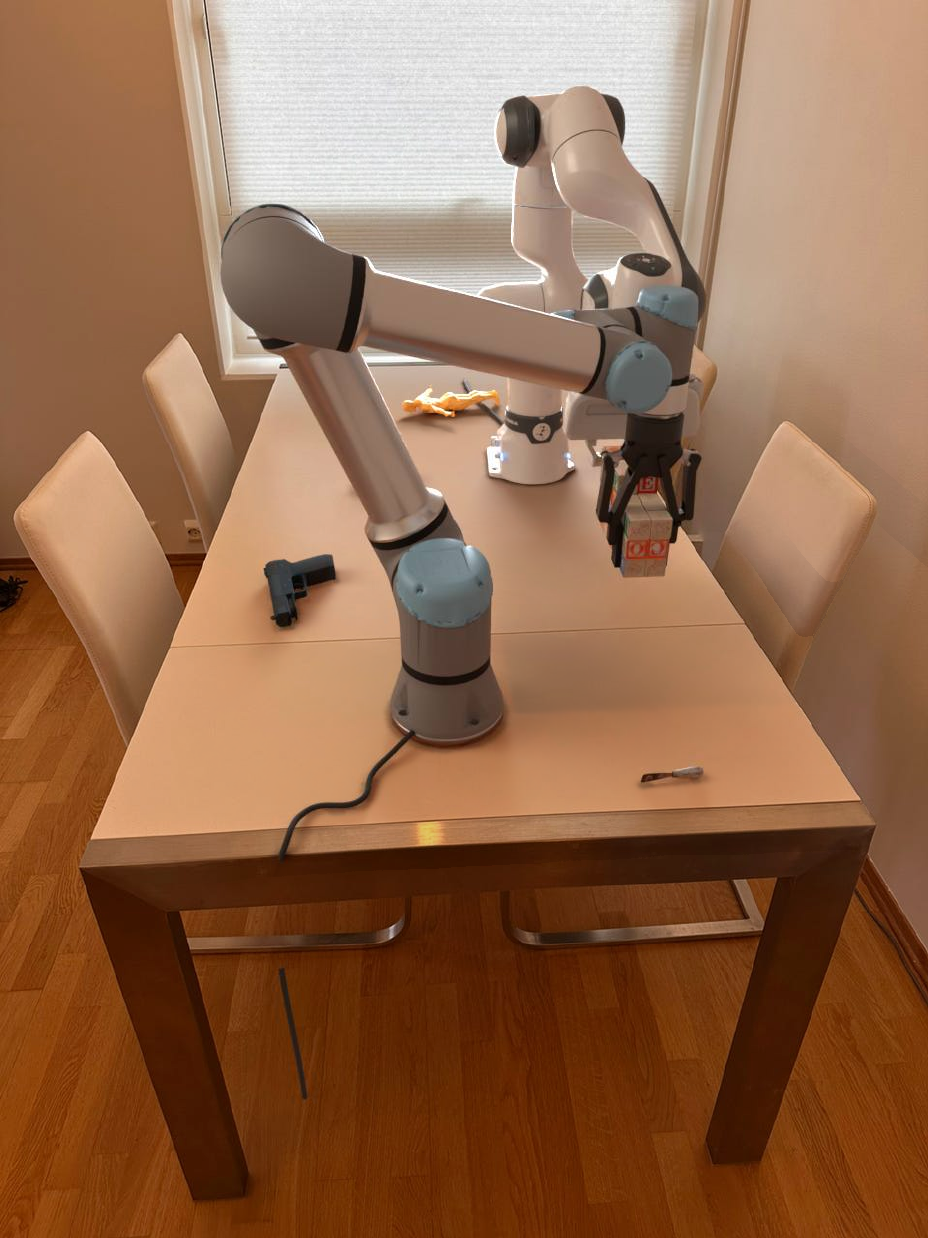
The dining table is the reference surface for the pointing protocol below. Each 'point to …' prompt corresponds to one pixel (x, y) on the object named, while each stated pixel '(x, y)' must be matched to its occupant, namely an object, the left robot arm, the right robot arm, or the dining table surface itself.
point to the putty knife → (674, 774)
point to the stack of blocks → (641, 526)
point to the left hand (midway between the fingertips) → (638, 562)
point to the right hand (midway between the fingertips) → (626, 464)
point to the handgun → (295, 583)
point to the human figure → (448, 402)
